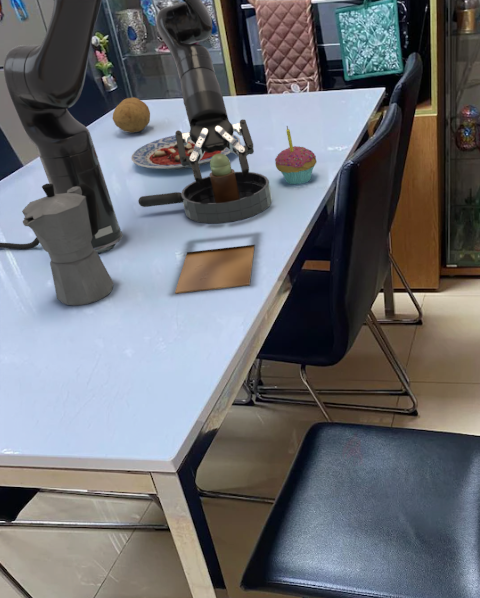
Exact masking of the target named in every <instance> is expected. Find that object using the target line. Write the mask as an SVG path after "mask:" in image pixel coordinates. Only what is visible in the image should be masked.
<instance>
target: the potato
mask: <svg viewBox="0 0 480 598" xmlns="http://www.w3.org/2000/svg"><path fill="white" fill-rule="evenodd" d="M112 120H113V123H114V125H115V126H116V127H117V128H118V129H120V130H121V131H123V132H126V133H131V134H132V133H139V132H142V131H144V130H145V128H146V127H147V126H148V124H149V123H150V121H151V111H150V109H149V106H148V105H147V104H146V102H144V101H143V100H141V99H140V98H137V97H126V98H125V99H123V100H121V102H119V104H117V106H116V107H115V108H114V111H113V112H112Z"/></svg>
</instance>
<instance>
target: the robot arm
mask: <svg viewBox="0 0 480 598" xmlns="http://www.w3.org/2000/svg"><path fill="white" fill-rule="evenodd" d="M182 1H183V2H180V3H176V4H173V5H169V6H166V7H163V8H161V9H160V10H159V11H158V13H157V15H156V18H155V19H156V20H155V21H156V22H155V25H156V29H157V31H158V33H159V36H160V37H161V40H162V41H163V42H164V44H165V46H166V47H167V49H168V51H169V53H170V54H171V56H172V59H173V61H174V64H175V67H176V70H177V74H178V78H179V82H180V87H181V90H180V91H181V95H182V100H183V105H184V108H185V112H186V115H187V120H188V123H189V127H190V129H189V131H188V132H182V130H176V131H175V132H174V133H175V134H174V135H176V140H177V146H178V151H179V157H180V161H181V165H182V166H186V165H188V166H191V171H192V175H193V179H194V182H195V181H196V182H199V184H203V180H202V178H203V177H202V172H201V168H200V166H199V164H198V163H199V161H200V159H202V157H203V155H204V153H205V151H206V152H208V153H212V152H214V151H223V150H224V149H225V148H227V149H228V150H229V151H231V153H232V154H235V155H236V156H237V158H238V162H239V165H240V169H241V172H242V174H243V177H244V176H247V173H249V172H250V166H249V161H248V156H249V155H253V154H254V142H253V139H252V136H251V132H250V129H249V126H248V124H247V121H246V119H240V120H239V122H238V123H233V124H232V123H231V122H230V119H229V116H228V112H227V109H226V104H225V101H224V97H223V93H222V88H221V86H220V82H219V80H218V78H217V75H216V70H215V67H214V62H213V59H212V56H211V52H210V51H209V50H208V48H207V47H206V46H204V45H202V44H199V43H200V42H204V41H206V40H208V39H209V38H210V37H211V35H212V32H213V20H212V17H211V15H210V13H209V11H208V8H207V7H206V6H205V3H203V1H202V0H182ZM102 2H103V0H53V2H52V3H53V4H52V11H51V16H50V20H49V23H48V26H47V29H46V33H45V34H44V35H45V36H44V37H43V40H42V42H41V44H20V45H16V46H14V47H12V48H10V49H9V51H8V52H7V53H6V55H5V57H4V61H3V77H4V83H5V85H6V89H7V92H8V94H9V97H10V100H11V102H12V104H13V107H14V110H15V112H16V114H17V117H18V120H19V121H20V123H21V126H22V129H23V131H24V133H25V135H26V136H27V138H28V140H30V142H31V143H32V144H33V146H34V147H35V149H36V151H37V154H38V156H39V159H40V162H41V165H42V167H43V170H44V173H45V175H46V178H47V179H46V180H47V181H48V184H53V187H54V193H55V194H62V193H67V190H69V189H70V188H72V187H76V186H77V185H78V184H80V183H85V184H87V185H88V186H89V187H91V188H92V189H93V190H94V191H95V196H96V208H97V219H98V233H97V234H96V235H94V236H93V237H92V240H91V244H92V247H93V249H94V250H95V251H96V252H97V253H98V254H100V253H103V252H107V251H109V250H112V249H114V247H115V245H116V244H117V243H119V242H120V241H121V240H122V239H123V236H124V235H123V232H122V231H121V230H122V229H121V227H120V224H119V221H118V218H117V215H116V211H115V208H114V206H113V205H114V204H113V202H112V199H111V195H110V192H109V189H108V185H107V183H106V180H105V176H104V173H103V170H102V167H101V164H100V161H99V157H98V154H97V151H96V147H95V144H94V141H93V139H92V136H91V135H92V134H91V133H90V130H89V129H88V128H87V127H86V126H85V124H83V123H81V122H80V121H78V120H77V119H76V118H75V117H74V116H73V115H72V114H71V113H70V111H69V110H68V109H69V108H71V107H73V106H74V105H75V104H76V103H77V102H78V100H79V99H80V97H81V94H82V93H83V92H82V91H83V88H84V85H85V81H86V75H87V71H88V64H89V58H90V51H91V47H92V41H93V36H94V31H95V28H96V24H97V20H98V18H99V13H100V9H101V5H102ZM234 133H237V135H239V136H240V137H242V139H243V143H244V145H242V144H241V143H240V144H239V143H238V142H237V141H236V139H235V138H233V137H232V135H233V134H234ZM190 139H191V140H192V141H193V142H194V143H195V146H194V150H193V152H192V154H191V156H186V153H185V147H184V146H186V145H187V144H188V140H190ZM84 196H85V195H84ZM85 199H86V198H85ZM86 204H87V202H86ZM87 210H88V206H87ZM90 226H91V224H90ZM39 244H40V242H39V240H38V239H37V237H36V236H35V238H34V240H32V242H28V243H14V242H0V249H11V250H12V249H13V250H29V249H33V248H36V247H38V246H39Z"/></svg>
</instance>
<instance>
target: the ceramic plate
mask: <svg viewBox="0 0 480 598" xmlns="http://www.w3.org/2000/svg"><path fill="white" fill-rule="evenodd" d="M232 137H233V138H235V139H236V141H237V142H238V143H239V144H240V145H241V139H240V138H239V136H237V135H236V134H234V133H233V135H232ZM194 146H195V143H194V142H193V141H192V140H191V139H190V140H188V144H187V145H186V146H184V147H185V153H186V156H191V154H192V152H193V150H194ZM218 153H221V154H224V155H226V156H227V155H230V154H231V153H232V152H231V151H229V150H228V149H227V148H225V149H224V150H223V151H214V152H212V153H208V152H206V151H205V153H204V155H203V157H202V159H200V161H199V163H198V164H199V167H200V166H203V165H206V164H208V163H209V164H210V160H211V158H212V157H213V156H214V155H215V154H218ZM130 158H131V161H132V163H134V164H135V165H136V166H138V167H142V168H148V169H157V170H158V169H159V170H161V169H164V170H185V169H190V168H191V166H188V165H186V166H182V165H181V161H180V157H179V151H178V146H177V140H176V135H175V134H174V135H170V136H165V137H162V138H159V139H156V140H153V141H150V142H148V143H146V144H144V145H142V146H140V147H139V148H137V149H136V150H135V151H134V152H133V153H132V154H131V157H130ZM191 169H192V168H191Z"/></svg>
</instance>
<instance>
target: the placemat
mask: <svg viewBox="0 0 480 598" xmlns="http://www.w3.org/2000/svg"><path fill="white" fill-rule="evenodd" d="M255 246H256V245H255V244H247V245H238V246H231V247H222V248H213V249H202V250H195V251H187V252H186V255H185V257H184V258H185V259H184V262H183V263H182V264H183V265H182V267H181V271H180V274H179V278H178V281H177V285H176V288H175V291H174V293H175V294H184V293H194V292H202V291H204V292H205V291H211V290H220V289H229V288H230V289H231V288H237V287H247V286H250V285H251V279H252V278H251V277H252V271H253V270H252V269H253V264H254V263H253V262H254V253H255Z"/></svg>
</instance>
